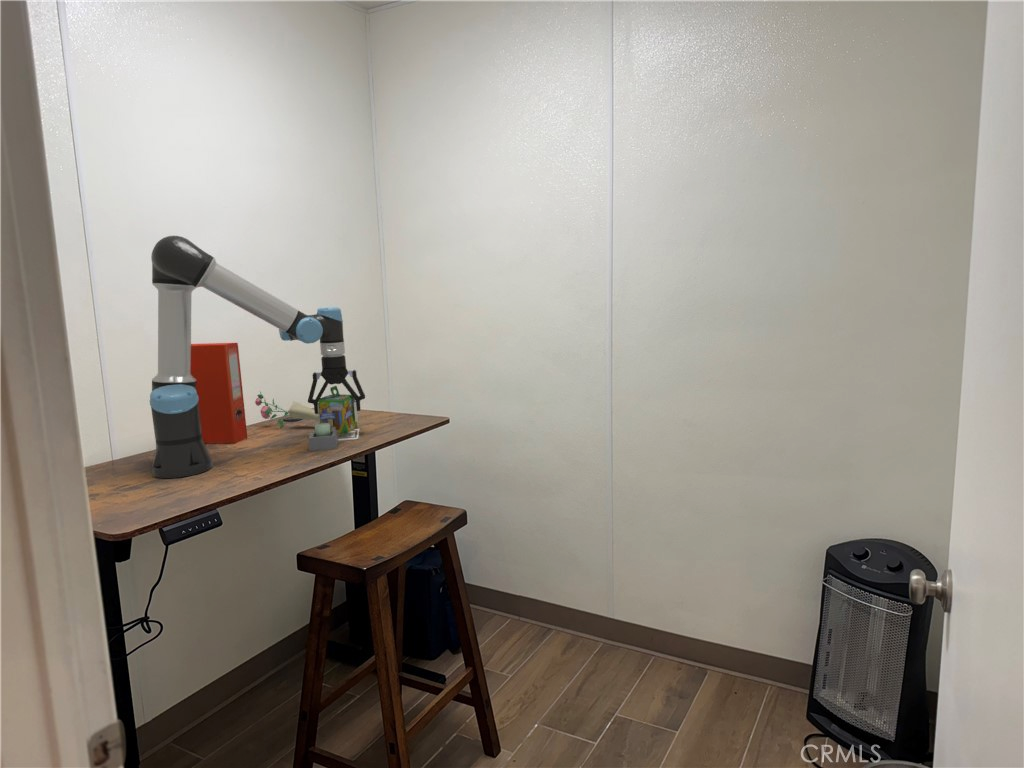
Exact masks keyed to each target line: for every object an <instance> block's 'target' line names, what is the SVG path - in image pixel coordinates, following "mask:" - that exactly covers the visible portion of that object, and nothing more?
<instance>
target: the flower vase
mask: <svg viewBox="0 0 1024 768" xmlns="http://www.w3.org/2000/svg"><path fill="white" fill-rule="evenodd" d="M256 396H257V398H256V399H255V400H254V403H255V406H257V407H260V406H261V404H264V405H263V406H261V409H260V410H259V411H260V414H261V417H262V418H263V419H264V420H269V419H270V420H272V419H274V418H276V417H278V416H279V414H277V412H278V413H284V414H283V418H279V419H278V421H277V424H276V425H279V427H280V429H282V427H283V426H284V419H285V418H286V417H287V416H288V415H289V417H290V418H291V419H294V420H295V419H297V420H309V421H310V420H311V421H315V422H318V423H319V417H318V414H315V411H314V408H311V407H308V406H306V405H305V404H304V405H303V404H302V403H299V402H297V401H292V403H291V406H290V408H289V409H288V411H287V410H285V409H283V408H281V407H280V406H279V405H277V404H275V400H274V399H275V398H272V404H271V403H269V402H267V401H266V398H265V397H264V395H263V394H262V392H261V391H259V394H257V395H256ZM262 399H264V402H263V401H262ZM271 406H272V407H273V408H275V410H273V408H272V407H271ZM273 412H274V414H273ZM272 414H273V415H272Z"/></svg>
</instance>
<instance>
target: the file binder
mask: <svg viewBox="0 0 1024 768" xmlns="http://www.w3.org/2000/svg"><path fill="white" fill-rule="evenodd" d="M241 372H242V371H241V363H240V351H239V344H238V342H217V343H216V342H213V343H211V342H210V343H209V342H208V343H191V375H192V376H193V377H194V378H195V379H196V391H197V395H198V399H199V400H198V405H199V413H200V422H201V430H202V438H203V442H204V444H237V443H239V442H242V441H243V440H247V439H248V429H247V421H246V411H245V410H246V409H245V402H244V401H245V400H244V393H243V392H244V391H243V382H242V381H243V380H242V373H241Z"/></svg>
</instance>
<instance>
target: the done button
mask: <svg viewBox="0 0 1024 768" xmlns="http://www.w3.org/2000/svg"><path fill="white" fill-rule="evenodd" d="M314 429H315V430H314V432H315V433H316V437H319V436H331V434H330V424H329V423H320V424H319V423H317V424H314Z"/></svg>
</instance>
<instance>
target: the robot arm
mask: <svg viewBox="0 0 1024 768" xmlns="http://www.w3.org/2000/svg"><path fill="white" fill-rule="evenodd" d="M151 266H152V267H151V268H152V269H151V270H152V271H151V273H152V274H151V280H152V281H151V282H152V283H151V285H152V286H153V287H155V288H156V290H157V291H158V292H157V301H158V302H157V304H158V305H157V374H156V375H155V376H153V377H152V378H151V392H150V394H149V406H150V409H151V416H152V423H153V431H154V441H155V451H154V457H153V460H152V465H151V472H152V476H153V477H155V478H158V479H175V478H177V479H178V478H183V477H189V476H194V475H197V474H201V473H204V472H207V471H209V470H210V469H213V464H214V463H213V460H212V459H213V458H212V456H211V454H210V453H209V450H208V448H207V446H206V443H204V442H203V438H202V430H201V422H200V413H199V405H198V400H199V399H198V395H197V391H196V379H195V378H194V377H193V376H192V375H191V344H192V293H193V291H195V290H196V289H197V288H204V289H206V290H207V291H209V292H211V293H213V294H215V295H216V296H218V297H220V298H222V299H225V301H227V302H230V303H231V304H233V305H235V306H237V307H238V308H241V309H242V310H243V311H246V312H248V313H250V314H251V315H253V316H255V317H257V318H258V319H261V320H262V321H263V322H265V323H268V324H270V325H271V326H273V327H275V328H277V329H278V332H279V338H280V339H281V341H285V342H286V341H291V342H292V341H300V342H302V343H303V344H315V343H316V342H318V341H319V345H320V347H319V348H320V349H319V350H320V355H321V359H320V360H321V372H313V373H312V375H311V376H312V382H311V387H310V390H309V394H308V398H307V403H308V404H312V405H313V410H314V411H315V414H318V417H319V422H318V424H320V413H319V402H318V399H320V398H322V396H323V394H324V392H325V390H327V387H328V385H341V384H342V385H343V386H344V388H345V389H347V391H348V392H349V395H352V396H353V398H354V399H355V401H354V412H355V422H357V423H358V421H359V417H358V412H360V411H361V402H362V400H365V399H366V395H365V392H364V389H363V388H362V386H361V384H360V383H361V382H360V381H359V379H358V376H357V370H356V369H352V370H348V368H347V363H346V355H345V353H346V350H345V339H344V324H343V322H344V321H343V315H342V310H341V308H340V307H337V306H335V307H334V306H332V307H331V306H329V307H328V306H327V307H319V308H317V310H316V314H305V313H304V312H302V311H300V310H298V309H297V308H295V307H293V306H292V305H290V304H289V303H286V302H285V301H283V300H281V299H280V298H278V297H276V296H274V295H273V294H272V293H269V292H268V291H267V290H264V289H263V288H261V287H259V286H257V285H255V284H254V283H252V282H250V281H248V280H246V279H245V278H243V277H241V276H239V275H238V274H236V273H234V272H233V271H231V270H230V269H227V268H226V267H224V266H223V265H221V264H219V263H217V261H216V258H215V257H214V256H213V255H211V254H209V253H207V252H206V251H204V250H203V249H201V248H200V247H198V246H197V245H196V244H194V242H192V241H191V240H189V239H188V238H186V237H183V236H179V235H167V236H165V237H162V238H161V239H159V240H158V241H157V242H156V243H155V245H154V246H153V249H152V251H151ZM348 375H349V377H351V378H352V380H353V382H354V385H355V388H356V389H357V392H358V393H356V391H355V389H354V388H353V387H352V386H351V385H350V383H349V382H348V381H347V379H346V378H347V376H348ZM321 377H322V378H323V380H324V383H323V384H322V386H321V388H320V390H319V392H318V394H317V396H316V397H315V398H314V396H315V391H316V387H317V384H318V380H319V379H320V378H321ZM358 394H359V395H358Z"/></svg>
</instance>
